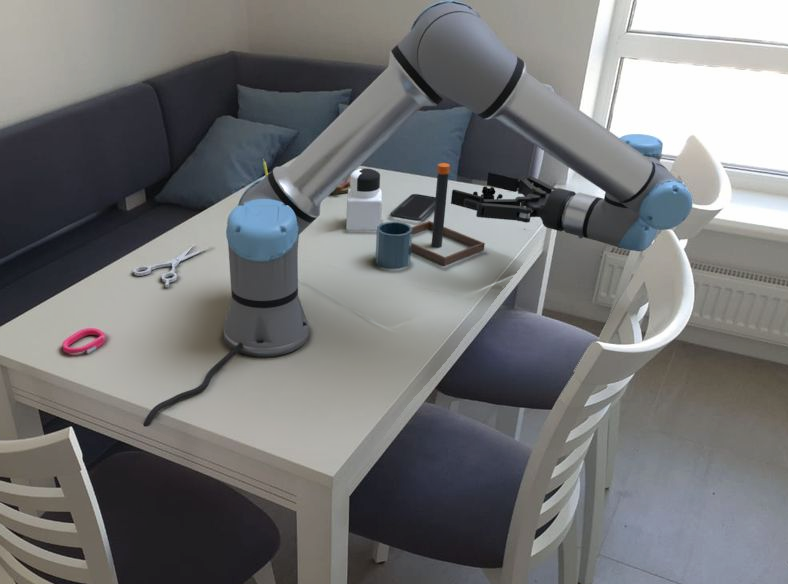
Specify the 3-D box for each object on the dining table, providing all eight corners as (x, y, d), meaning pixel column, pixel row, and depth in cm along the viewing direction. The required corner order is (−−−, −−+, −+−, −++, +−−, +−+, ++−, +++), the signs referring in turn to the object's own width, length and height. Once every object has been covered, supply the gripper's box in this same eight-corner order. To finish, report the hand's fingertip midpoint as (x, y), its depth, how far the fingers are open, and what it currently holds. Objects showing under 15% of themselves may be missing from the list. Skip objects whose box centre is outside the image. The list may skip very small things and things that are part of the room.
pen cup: (392, 275, 163) (394, 238, 159) (368, 263, 168) (369, 227, 163) (417, 265, 167) (419, 229, 162) (393, 254, 171) (395, 219, 167)
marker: (436, 249, 171) (444, 167, 161) (428, 246, 173) (435, 164, 163) (444, 246, 173) (452, 165, 163) (436, 243, 174) (443, 162, 164)
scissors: (125, 273, 164) (184, 238, 178) (126, 277, 164) (184, 241, 179) (167, 284, 159) (223, 247, 174) (167, 288, 160) (223, 250, 174)
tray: (444, 269, 165) (445, 258, 163) (389, 244, 176) (390, 234, 174) (483, 253, 171) (484, 243, 170) (428, 230, 182) (429, 220, 180)
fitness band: (80, 359, 138) (78, 352, 137) (56, 350, 141) (54, 343, 140) (112, 339, 144) (111, 331, 143) (89, 330, 146) (87, 323, 146)
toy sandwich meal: (368, 183, 208) (369, 166, 205) (339, 199, 199) (340, 181, 196) (329, 174, 214) (329, 157, 212) (299, 189, 205) (299, 171, 203)
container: (380, 220, 187) (382, 165, 180) (380, 233, 181) (382, 177, 174) (347, 219, 188) (348, 165, 181) (346, 232, 182) (347, 177, 174)
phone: (442, 198, 195) (420, 219, 184) (442, 202, 195) (420, 223, 185) (412, 193, 198) (388, 213, 187) (412, 197, 199) (388, 218, 188)
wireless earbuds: (471, 206, 193) (473, 186, 190) (472, 203, 195) (475, 183, 192) (500, 209, 191) (503, 189, 188) (502, 206, 193) (504, 185, 190)
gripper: (534, 252, 143) (434, 223, 155) (595, 212, 158) (500, 188, 170) (541, 212, 139) (438, 185, 151) (602, 175, 154) (504, 153, 166)
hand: (470, 187), depth 161 cm, fingers open, 13 cm apart
